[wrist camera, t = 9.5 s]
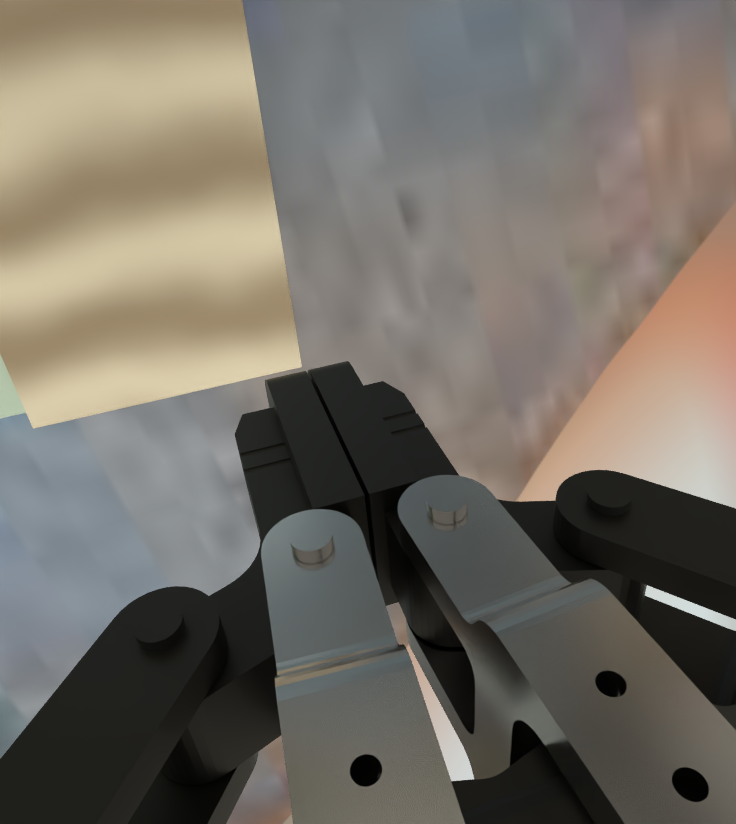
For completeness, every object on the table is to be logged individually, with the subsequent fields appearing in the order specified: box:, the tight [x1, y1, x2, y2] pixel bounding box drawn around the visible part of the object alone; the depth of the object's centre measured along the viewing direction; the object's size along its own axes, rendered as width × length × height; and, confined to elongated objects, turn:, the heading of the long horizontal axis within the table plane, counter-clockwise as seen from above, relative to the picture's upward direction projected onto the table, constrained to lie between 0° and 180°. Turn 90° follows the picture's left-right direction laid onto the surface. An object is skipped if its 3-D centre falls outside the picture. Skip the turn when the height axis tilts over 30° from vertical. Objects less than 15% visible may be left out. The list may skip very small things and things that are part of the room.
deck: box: [0, 0, 302, 428], centre depth 32 cm, size 22×14×4 cm, turn 5°
